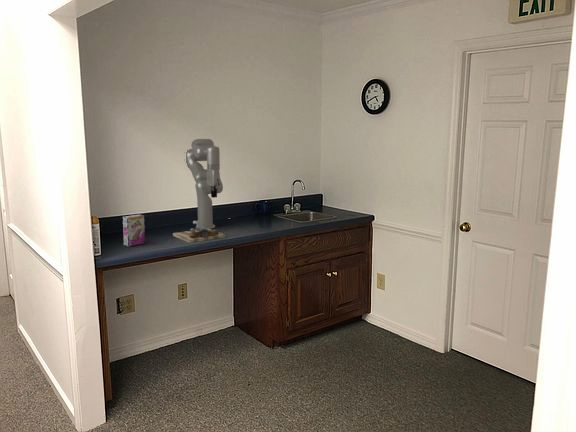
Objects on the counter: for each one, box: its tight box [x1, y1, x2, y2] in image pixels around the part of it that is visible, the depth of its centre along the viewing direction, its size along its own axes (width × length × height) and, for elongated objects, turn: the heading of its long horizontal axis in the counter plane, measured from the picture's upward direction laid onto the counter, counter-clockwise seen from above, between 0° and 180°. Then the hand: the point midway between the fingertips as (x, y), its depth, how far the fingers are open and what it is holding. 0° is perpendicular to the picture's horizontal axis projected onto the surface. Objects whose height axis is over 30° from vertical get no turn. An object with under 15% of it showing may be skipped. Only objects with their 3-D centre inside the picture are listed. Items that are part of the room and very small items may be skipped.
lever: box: [189, 227, 219, 238], centre depth 292 cm, size 18×4×5 cm, turn 126°
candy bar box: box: [122, 214, 146, 247], centre depth 276 cm, size 11×5×16 cm, turn 141°
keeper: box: [195, 227, 208, 238], centre depth 291 cm, size 4×9×5 cm, turn 37°
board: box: [172, 229, 227, 243], centre depth 298 cm, size 24×22×2 cm
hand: (214, 197), depth 301 cm, fingers closed
